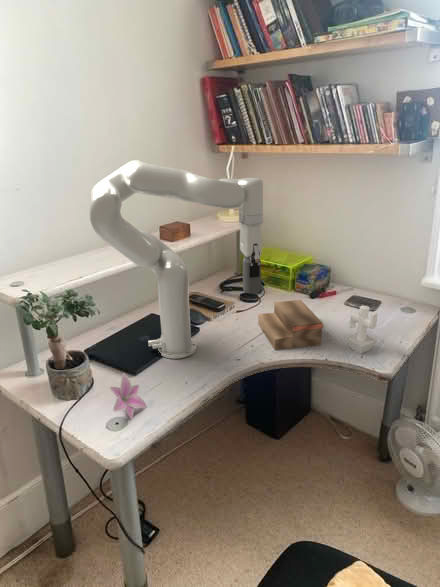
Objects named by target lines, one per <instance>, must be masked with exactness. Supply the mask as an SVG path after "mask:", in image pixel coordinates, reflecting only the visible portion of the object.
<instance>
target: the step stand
mask: <svg viewBox="0 0 440 587" xmlns="http://www.w3.org/2000/svg"><path fill="white" fill-rule="evenodd" d="M273 305H274V306H273V308H274V309H273V312H267V313H258V315H257V316H258V317H257V318H258V320H257V322H258V323H257V325H258V326H259V327H260V329H261V331H262V333H263V334H264V335H265V338H266V339H267V341H268V342H269V344H270V345H271V347H272V348H273V350H274V351H279V350H286V349H296V348H302V347H309V346H312V347H313V346H318V345H319V346H320V345H322V336H323V335H322V333H323V327H324V324H323V321H321V319H320V318H319V317H318V316H316V314H315V313H314V311H312V310H311V309H310V308H309V307H308V306H307V304H305V302H303V300H302V299H296V300H294V299H293V300H285V301H277V302H276V301H275V302H274V304H273Z"/></svg>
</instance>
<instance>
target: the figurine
mask: <svg viewBox="0 0 440 587" xmlns="http://www.w3.org/2000/svg"><path fill="white" fill-rule="evenodd" d="M369 313H370V307H369V306H367V305H360V306H359V311H358V313H357V312H352V313H351V314H350V318H349V328H350V329H355V328H357V333H354V334H352V335H348V336H346V337H344V339H345V341H346V342H347V345H348V346H349V348H350V350H353V351H355V352H357V353H358V354H360V355H361V354H364V353H367V352H368V351H371V349H372V348H373V347H374V346H375V345H376V343H377V342H378V341H379V340H378V339H376V338H374V337H372V336H369V335H368V334H367V330H368V329H371V330H374V329H375V328H376V326H377V322H378V313H377V312H375V311H373V312H372V313H370V318H369ZM356 326H357V327H356Z"/></svg>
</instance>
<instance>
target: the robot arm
mask: <svg viewBox="0 0 440 587" xmlns="http://www.w3.org/2000/svg"><path fill="white" fill-rule="evenodd" d="M136 193H137V194H140V195H147V196H155V197H161V198H168V199H173V200H178V201H179V200H180V201H183V202H186V203H193V204H194V203H195V204H198V205H202V206H203V205H204V206H209V207H213V208H214V207H215V208H220V209H221V208H222V209H229V210H231V209H232V210H234V209H236V208H238V224H239V225H240V226H239V228H240V229H239V230H240V231H239V250H240V252H241V253H242V255H243V259H244V258H245V256H246V257H250V265H249V276H250V278H253V277H259V276H260V263H259V260H261V257H260V256H261V255H262V229H261V228H262V226H261V225H263V224H264V182H263V180H262V179H261V178H259V177H243V178H220V179H214V178H209V177H205V176H202V175H198V174H195V173H193V172H191V171H188V170H185V169H180V168H174V167H167V166H161V165H157V164H151V163H145V162H144V161H142V160H138V159H135V160H134V159H132V160H131V161H129V162H127V163H126V164H124V165H123V166H121V167H120V168H118V169H117V170H115V171H114V172H112V173H111V174H109V175H108V176H106V177H105V178H103V179H102V180H100V181H99V182H97V183H96V184H95V185H94V186H93V187H92V190H91V192H90V205H89V206H90V207H89V220H90V224H91V226H92V229H93V230H94V232H95V233H96V234H97V235H98V236H99V237H100V238H101V239H102V240H103V241H104V242H106V243H107V244H108V245H110V246H111V247H112V248H114V249H115V250H116V251H118V252H119V253H120V254H121V255H123V256H124V257H125V258H127V259H128V260H130V262H132V263H133V264H134V265H135V266H137V267H140V268H145V269H149V270H150V271H152V272H153V273H154V274H155V276H156V280H157V294H158V309H159V317H160V320H159V321H160V329H161V330H160V331H161V335H160V338H159V337H158V338H157V339H151V340H149V339H148V340H147V341H148V343H147V344H148V347H151V348H152V349H157V350H158V351H159V352H160V353H161V355H160V356H162V357H164V358H167V359H173V360H175V359H183V358H187V357H190V356H191V355H193V354H195V352H196V351H197V344H196V342H195V341H194V340H192V330H191V329H192V328H191V315H190V313H191V312H190V311H191V310H190V294H189V292H190V291H189V290H190V288H189V287H190V273H189V270H188V267H187V266H186V265H187V264H185V263H184V261H183V260H182V258H181V256H180V255H179V253H177V252H175V251H174V250H173V249H172V248H170V246H168V245H166V244H165V243H164V242H163V241H161V239H159V238H157V237H156V236H155V235H154V234H152V233H150V232H149V231H146V230H139V229H137V228H136V227H135V226H134V225H132V223H130V222H129V221H128V220H125V219H124V218H123V216H122V214H121V208H122V203H123V202H124V201H126V200H128V199H129V198H130V197H132V196H133V195H135V194H136ZM252 254H254V256H251V255H252ZM244 255H245V256H244ZM252 258H254V259H253V261H252ZM160 348H161V349H160ZM158 351H157V352H158ZM159 352H158V353H159Z"/></svg>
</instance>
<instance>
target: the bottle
mask: <svg viewBox="0 0 440 587" xmlns="http://www.w3.org/2000/svg"><path fill="white" fill-rule="evenodd" d="M244 256H245V255H244V254H243V259H242V290H243V292H244V293H246V294H249V295H250V294H251V295H252V294H259V293H261V291H262V275H261V274H262V272H261V271H262V267H261V266H262V263H261V262H262V259H260V260H259V263H260V276H259V277H253V278H250V276H249V265H250V257H246V256H245V258H244ZM251 256H254V254H252V255H251ZM253 259H254V258H252V261H253Z"/></svg>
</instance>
